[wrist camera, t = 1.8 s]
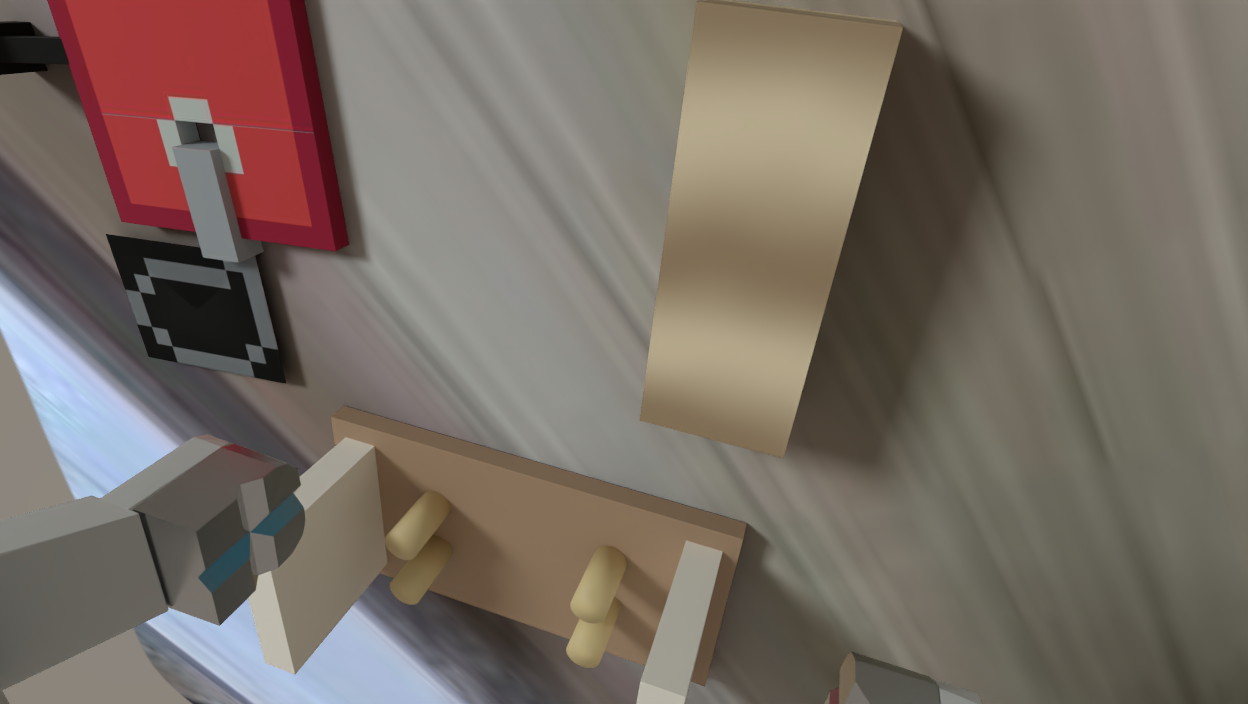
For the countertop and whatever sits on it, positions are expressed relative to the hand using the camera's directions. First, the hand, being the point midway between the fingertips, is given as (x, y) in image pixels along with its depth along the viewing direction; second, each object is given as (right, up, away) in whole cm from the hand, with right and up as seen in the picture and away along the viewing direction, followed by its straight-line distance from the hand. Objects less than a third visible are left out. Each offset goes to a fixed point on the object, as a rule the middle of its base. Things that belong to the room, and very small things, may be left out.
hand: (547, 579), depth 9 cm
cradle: (-4, -6, +24) cm, 25 cm away
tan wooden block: (+6, +8, +14) cm, 17 cm away
